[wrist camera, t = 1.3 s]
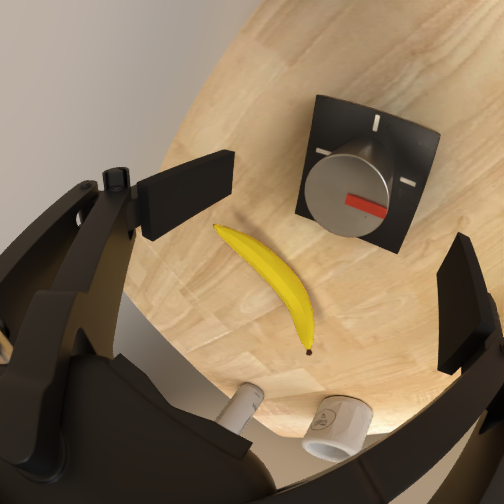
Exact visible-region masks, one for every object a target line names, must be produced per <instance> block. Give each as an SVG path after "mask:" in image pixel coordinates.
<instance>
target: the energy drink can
mask: <svg viewBox="0 0 504 504" xmlns="http://www.w3.org/2000/svg"><path fill="white" fill-rule="evenodd" d="M263 399H264V397H263V392H262V390H261V389H260V388H258V387H257V386H255V385H253V384H250V383H245V384H244V385H241V386H240V387H239V388H238V390H237V391H236V393H235V394H234V395H233V397H232V398H231V399H230V401H229V402H228V404H227V405H226V406H225V407H224V409H223V410H222V411H221V413H220V414H219V416H218V417H217V418H216V420H215V422H216V423H218V424H220V425H221V426H223V427H225V428H227V429H228V430H230V431H232V432H234V433H236V434H237V435H240V433H241V432H242V430H243V429H244V427H245V426H246V425H247V423H248V422H249V420H250V419H251V417H252V416H253V414H254V413H255V411H256V410H257V408H258V407H259V405H260V404H261V402H262V401H263Z"/></svg>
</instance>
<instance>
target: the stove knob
mask: <svg viewBox="0 0 504 504" xmlns="http://www.w3.org/2000/svg"><path fill="white" fill-rule="evenodd" d="M393 175H394V162H393V158H392V156H391V154H390V152H389V150H388V149H387V148H386V147H385V146H384V145H383V144H382V143H380V142H379V141H377V140H375V139H372V138H368V137H359V138H355V139H353V140H351V141H349V142H347V143H346V144H344V145H343V146H341V147H340V148H338V149H337V150H335V151H334V152H332V153H331V154H329V155H328V156H326V157H325V158H323V159H322V160H320V161H319V162H318V163H317V164H316V165H315V166H314V167H313V168H312V169H311V171H310V173H309V175H308V177H307V180H306V184H305V199H306V203H307V206H308V209H309V211H310V213H311V214H312V216H313V217H314V219H315V220H316V221H317V222H318V223H319V224H320V225H321V226H322V227H323V228H325V229H326V230H328V231H329V232H331V233H333V234H336V235H339V236H343V237H360V236H363V235H366V234H368V233H371V232H372V231H374V230H375V229H376V228H377V227H378V226H379V225H380V224H381V223H382V222H383V220H384V218H385V216H386V214H387V211H388V208H389V202H390V196H391V189H392V182H393Z"/></svg>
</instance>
